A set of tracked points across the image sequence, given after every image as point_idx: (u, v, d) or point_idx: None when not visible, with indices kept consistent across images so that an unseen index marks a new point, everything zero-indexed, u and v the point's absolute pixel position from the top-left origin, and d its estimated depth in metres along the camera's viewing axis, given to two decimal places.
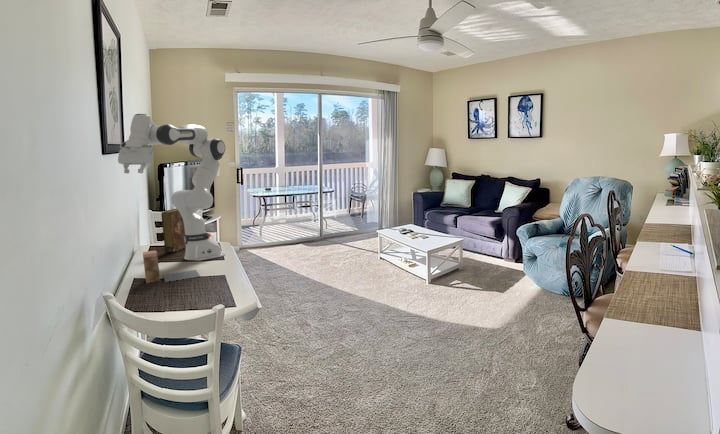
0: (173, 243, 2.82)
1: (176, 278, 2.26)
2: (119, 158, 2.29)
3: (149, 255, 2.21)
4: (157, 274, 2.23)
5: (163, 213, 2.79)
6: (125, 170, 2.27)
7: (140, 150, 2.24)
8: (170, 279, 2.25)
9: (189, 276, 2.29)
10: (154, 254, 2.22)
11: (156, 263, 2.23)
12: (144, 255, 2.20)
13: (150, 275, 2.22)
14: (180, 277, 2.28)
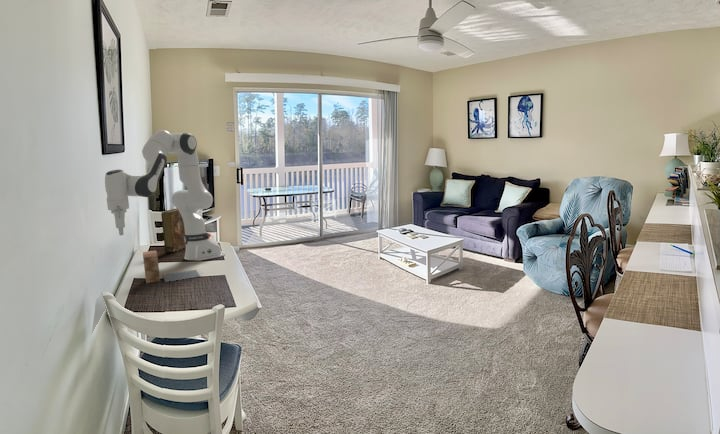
0: (173, 243, 2.82)
1: (176, 278, 2.26)
2: None
3: (149, 255, 2.21)
4: (157, 274, 2.23)
5: (163, 213, 2.79)
6: (119, 232, 2.17)
7: None
8: (170, 279, 2.25)
9: (189, 276, 2.29)
10: (154, 254, 2.22)
11: (156, 263, 2.23)
12: (144, 255, 2.20)
13: (150, 275, 2.22)
14: (180, 277, 2.28)
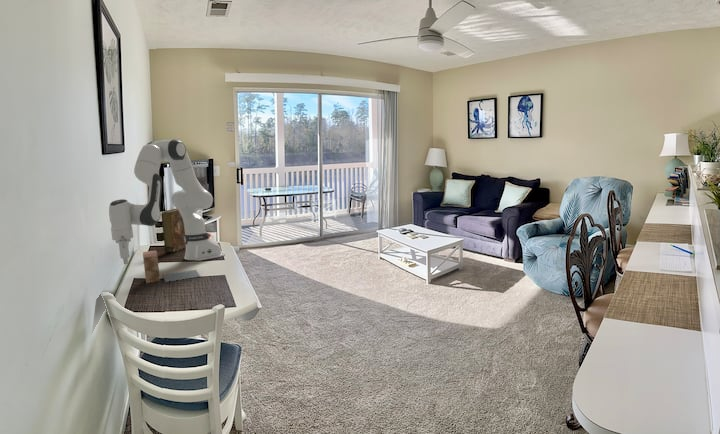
0: (173, 243, 2.82)
1: (176, 278, 2.26)
2: None
3: (149, 255, 2.21)
4: (157, 274, 2.23)
5: (163, 213, 2.79)
6: None
7: None
8: (170, 279, 2.25)
9: (189, 276, 2.29)
10: (154, 254, 2.22)
11: (156, 263, 2.23)
12: (144, 255, 2.20)
13: (150, 275, 2.22)
14: (180, 277, 2.28)
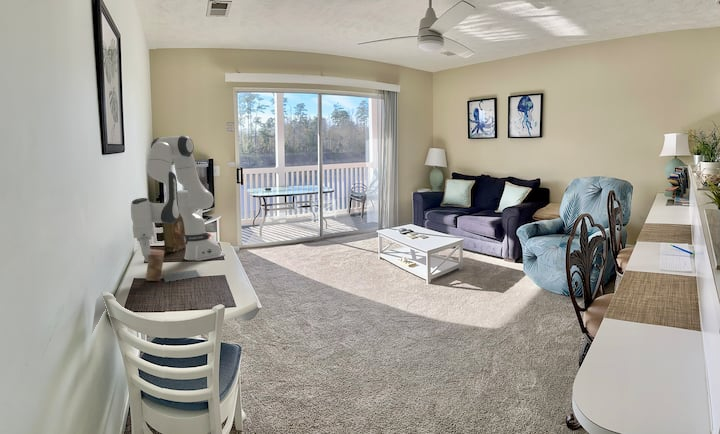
0: (173, 243, 2.82)
1: (176, 278, 2.26)
2: None
3: (156, 253, 2.22)
4: (159, 274, 2.24)
5: None
6: (144, 258, 2.23)
7: (140, 241, 2.17)
8: (170, 279, 2.25)
9: (189, 276, 2.29)
10: (161, 253, 2.23)
11: (161, 262, 2.23)
12: (151, 252, 2.21)
13: (152, 273, 2.22)
14: (180, 277, 2.28)
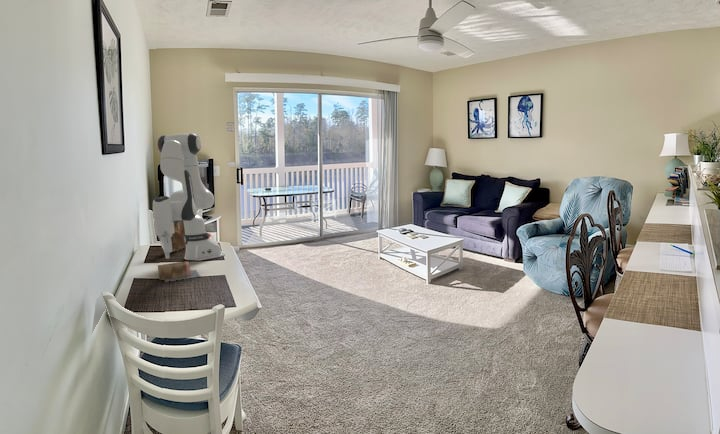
0: (173, 243, 2.82)
1: (176, 278, 2.26)
2: (160, 241, 2.33)
3: (188, 269, 2.30)
4: (167, 277, 2.26)
5: None
6: (165, 255, 2.27)
7: (162, 238, 2.21)
8: (170, 279, 2.25)
9: (189, 276, 2.29)
10: (188, 273, 2.30)
11: (179, 275, 2.28)
12: (188, 264, 2.29)
13: (166, 271, 2.25)
14: (180, 277, 2.28)
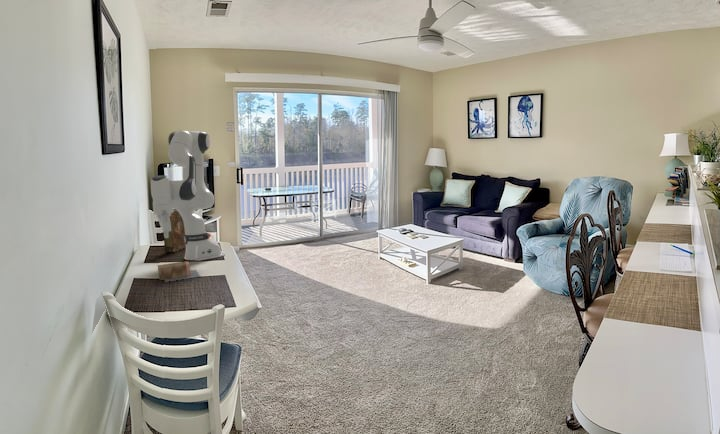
0: (173, 243, 2.82)
1: (176, 278, 2.26)
2: (159, 221, 2.32)
3: (188, 269, 2.30)
4: (167, 277, 2.26)
5: None
6: (164, 235, 2.26)
7: None
8: (170, 279, 2.25)
9: (189, 276, 2.29)
10: (188, 273, 2.30)
11: (179, 275, 2.28)
12: (188, 264, 2.29)
13: (166, 271, 2.25)
14: (180, 277, 2.28)
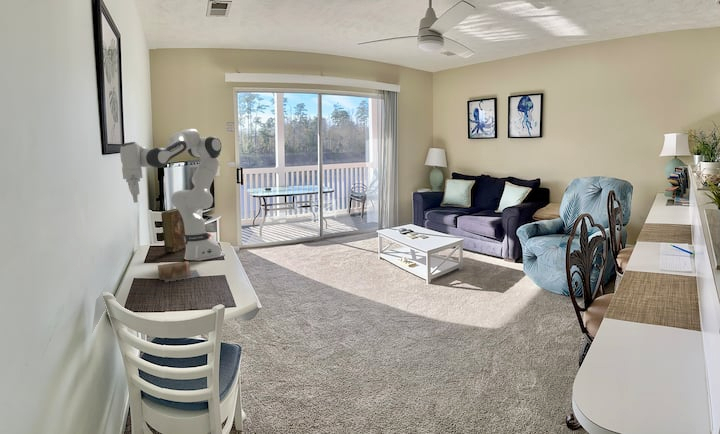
0: (173, 243, 2.82)
1: (176, 278, 2.26)
2: (129, 187, 2.42)
3: (188, 269, 2.30)
4: (167, 277, 2.26)
5: (163, 213, 2.79)
6: (133, 200, 2.36)
7: (129, 182, 2.29)
8: (170, 279, 2.25)
9: (189, 276, 2.29)
10: (188, 273, 2.30)
11: (179, 275, 2.28)
12: (188, 264, 2.29)
13: (166, 271, 2.25)
14: (180, 277, 2.28)
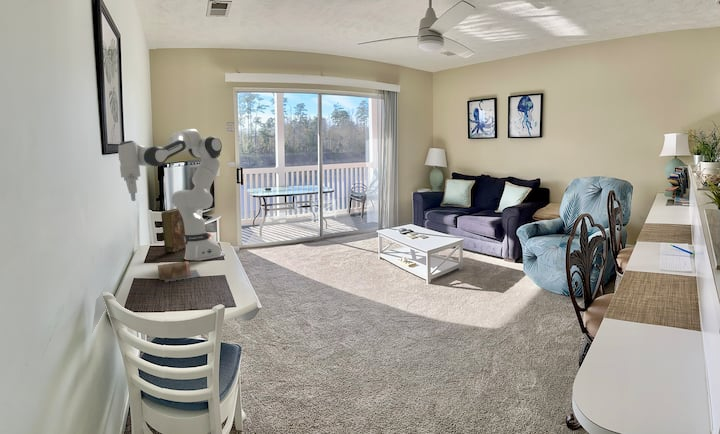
0: (173, 243, 2.82)
1: (176, 278, 2.26)
2: (127, 186, 2.43)
3: (188, 269, 2.30)
4: (167, 277, 2.26)
5: (163, 213, 2.79)
6: (131, 198, 2.37)
7: None
8: (170, 279, 2.25)
9: (189, 276, 2.29)
10: (188, 273, 2.30)
11: (179, 275, 2.28)
12: (188, 264, 2.29)
13: (166, 271, 2.25)
14: (180, 277, 2.28)
